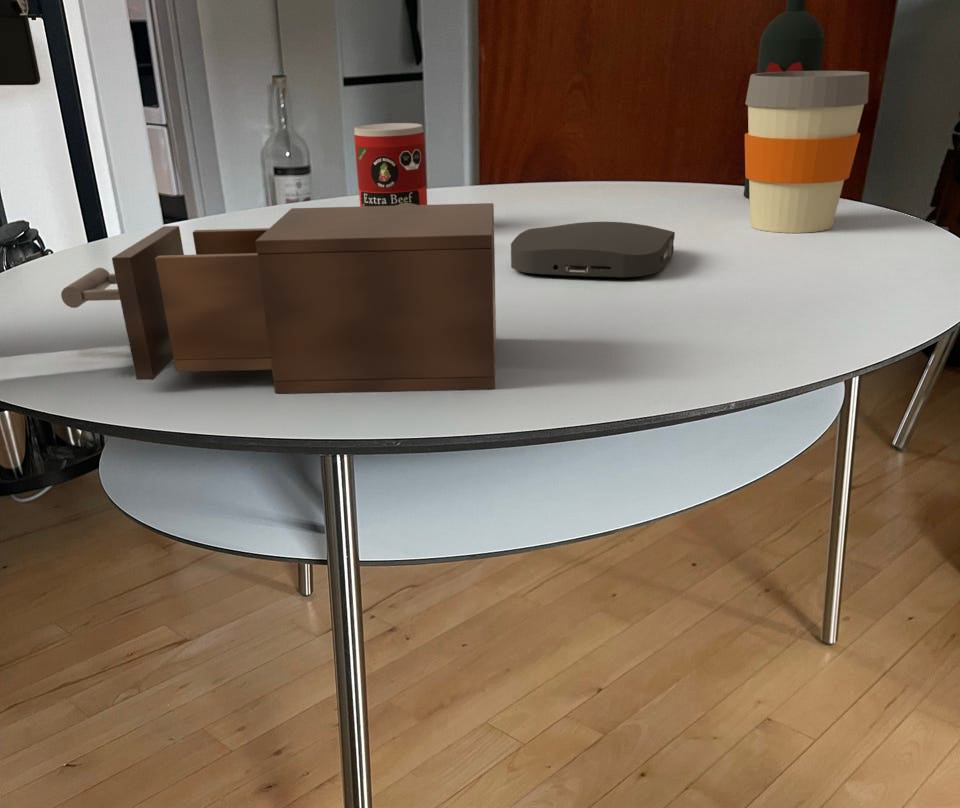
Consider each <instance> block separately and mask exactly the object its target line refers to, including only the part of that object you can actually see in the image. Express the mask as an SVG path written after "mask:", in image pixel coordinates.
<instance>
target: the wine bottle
mask: <svg viewBox="0 0 960 808" xmlns="http://www.w3.org/2000/svg"><path fill="white" fill-rule="evenodd" d="M806 4H807V0H786V7H785V11H784V12H782V13H780V14H778V15H777V16H776V17H775V18H773V20H771V21H770V22H769V23H768V25H767V26H766V28H765V29H764V31H763V32H762V34H761V37H760V38H759V46H758V47H759V49H758V58H757V67H756V74H757V73H769V72H789V71H822V62H823V55H824V46H825V39H826V38H825V34H824V33H825V32H824V29H823V26H821V23H820V22H819V20H818V19H817V18H815V16H813V14H811V13H810V12H808V11H806ZM743 197H745V199H750V194H749V179H747V178H746V177H745V179H744V189H743Z"/></svg>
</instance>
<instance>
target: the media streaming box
mask: <svg viewBox="0 0 960 808" xmlns="http://www.w3.org/2000/svg"><path fill="white" fill-rule="evenodd" d="M675 234H676V233H675V231H674V230H673V231H672V230H668V229H665V228H661V227H656V226H651V225H645V224H639V223H633V222H632V223H631V222H621V221H586V222H585V221H584V222H574V223H565V224H561V225H560V224H559V225H553V226H552V225H551V226H545V227H534V228H533V227H532V228H528V229H525V230H523V231H521V232H520V233H519V234H517V235H516V236H515V238H514V239H513V240H512V241H511V243H510V267H511V269H512V270H515V271H517V272H521V273H527V274H534V275H547V276H563V277H564V276H565V277H587V278H591V277H592V278H620V279H621V278H622V279H627V278H636V277H646V276H650V275H654V274H657V273H659V272H661V271H662V270H663V269H664V268H665V266H666V265H667V264H668V263H669V262H670V260H671V259H672V257H673V256H674V249H675V246H674V241H675V236H676V235H675Z"/></svg>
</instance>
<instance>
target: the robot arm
mask: <svg viewBox="0 0 960 808" xmlns="http://www.w3.org/2000/svg"><path fill="white" fill-rule="evenodd" d="M28 14H29V3H28V0H0V86H36V85H39V84H40V83H41V76H40V75H41V74H40V70H39V65H38V59H37V55H36V50H35V44H34V40H33V35H32V31H31V30H32V29H31V25H30V21H29V15H28Z"/></svg>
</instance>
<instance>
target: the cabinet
mask: <svg viewBox="0 0 960 808" xmlns="http://www.w3.org/2000/svg"><path fill="white" fill-rule="evenodd" d="M268 228H269V229H268V230H267V231H266V232H265V233H264V234H263V235H261V236H260V237H259V238H258V239H257V240H256V241H255V245H256V252H257V260H258V267H259V275H260V282H261V290H262V297H263V305H264V312H265V320H266V327H267V335H268V342H269V350H270V357H271V365H272V370H271V371H272V372H271V373H272V378H273V379H272V381H273V386H274V393H275V394H300V393H301V394H303V393H304V394H306V393H307V394H309V393H350V392H351V393H352V392H353V393H354V392H355V393H357V392H359V393H360V392H405V391H455V390H456V391H458V390H460V391H461V390H462V391H463V390H494V389H496V363H497V362H496V361H497V360H496V358H497V357H496V356H497V355H496V354H497V315H496V314H497V312H496V309H497V308H496V259H495V254H496V253H495V251H496V250H495V204H494V203H493V202H485V203H483V202H482V203H481V202H480V203H446V204H445V203H444V204H443V203H441V204H427V205H402V206H363V207H360V206H333V207H332V206H331V207H328V206H326V207H291V208H290V209H289V210H288V211H287V212H286V213H284V214H283V215H282V217H280V218H279V219H278V220H277V221H276V222H275V223H274V224H272V226H270V227H268Z"/></svg>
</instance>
